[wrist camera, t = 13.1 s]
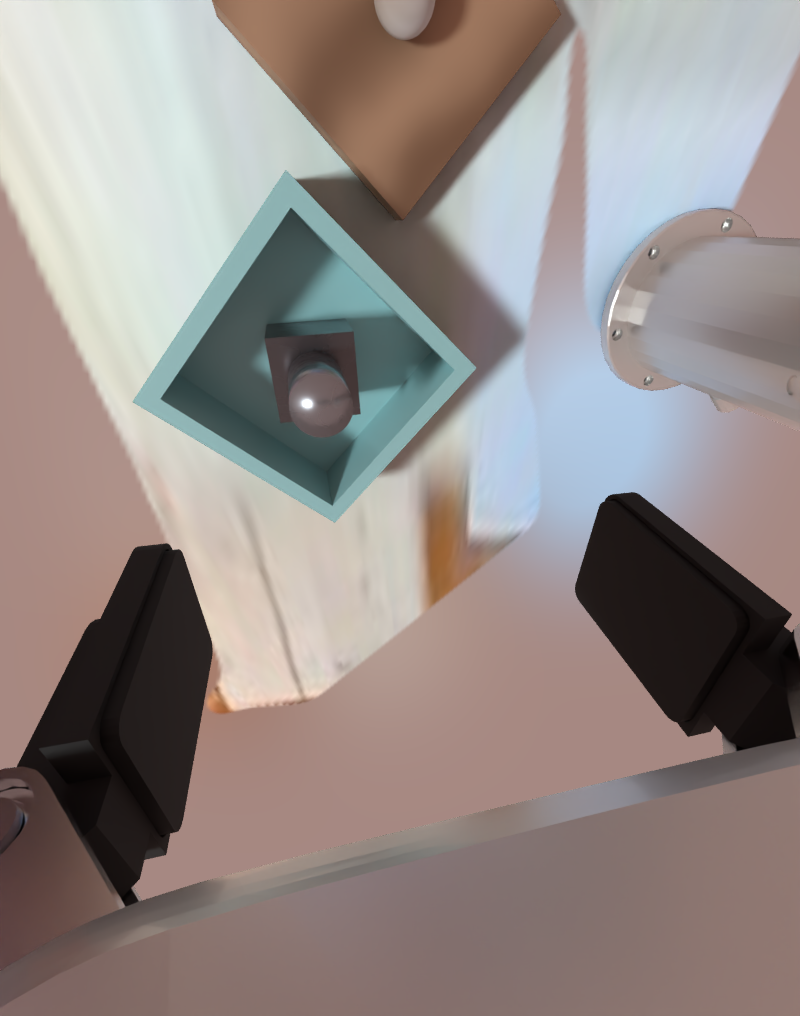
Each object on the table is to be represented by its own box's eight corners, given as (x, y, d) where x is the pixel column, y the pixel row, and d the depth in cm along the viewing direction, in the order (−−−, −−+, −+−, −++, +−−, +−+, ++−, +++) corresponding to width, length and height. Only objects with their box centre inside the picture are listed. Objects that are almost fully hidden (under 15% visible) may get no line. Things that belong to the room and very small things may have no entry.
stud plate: (542, 28, 24) (592, -10, 20) (395, 220, 27) (414, 219, 23) (380, -278, 18) (407, -417, 14) (217, 16, 21) (202, -30, 17)
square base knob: (345, 318, 29) (367, 352, 21) (352, 393, 31) (374, 447, 24) (266, 324, 28) (260, 362, 20) (280, 400, 31) (280, 458, 23)
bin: (446, 345, 32) (476, 367, 27) (327, 481, 36) (334, 522, 31) (285, 180, 25) (285, 170, 20) (157, 371, 29) (132, 401, 24)
